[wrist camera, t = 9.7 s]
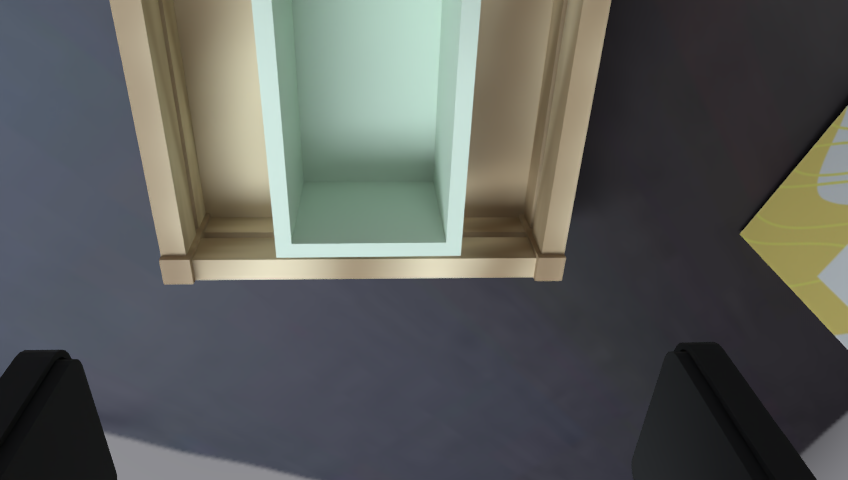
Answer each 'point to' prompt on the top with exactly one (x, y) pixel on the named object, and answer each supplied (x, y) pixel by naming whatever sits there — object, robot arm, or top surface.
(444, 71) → the box
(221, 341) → the top surface
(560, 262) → the crate big
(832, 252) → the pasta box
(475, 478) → the top surface
